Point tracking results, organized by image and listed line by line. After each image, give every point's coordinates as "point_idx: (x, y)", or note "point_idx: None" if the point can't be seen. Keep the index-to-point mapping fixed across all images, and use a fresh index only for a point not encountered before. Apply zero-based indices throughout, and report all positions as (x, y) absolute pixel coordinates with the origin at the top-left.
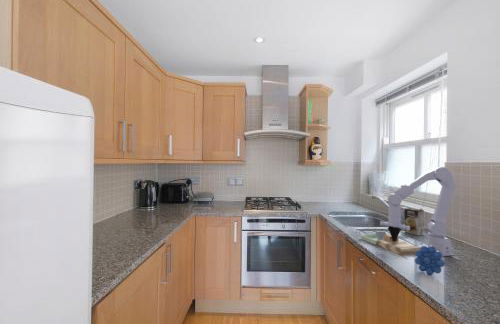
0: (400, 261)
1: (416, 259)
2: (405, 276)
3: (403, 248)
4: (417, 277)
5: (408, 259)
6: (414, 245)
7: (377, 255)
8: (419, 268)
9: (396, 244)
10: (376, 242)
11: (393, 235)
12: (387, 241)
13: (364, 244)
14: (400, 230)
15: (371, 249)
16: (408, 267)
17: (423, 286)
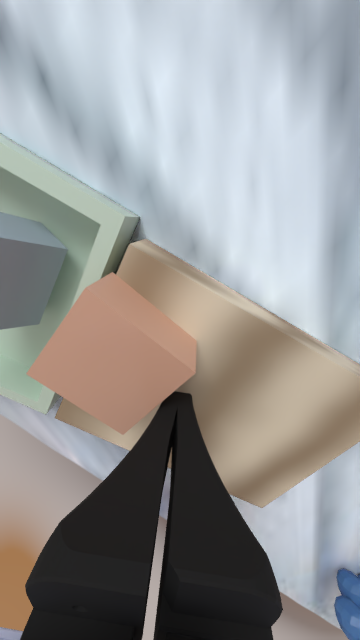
0: (260, 526)
1: (348, 638)
2: (290, 596)
3: (271, 493)
4: (323, 592)
5: (290, 496)
6: (356, 382)
7: (161, 513)
8: (339, 589)
9: (209, 442)
10: (57, 397)
11: (164, 479)
12: None
13: (19, 412)
14: (253, 545)
15: (100, 464)
16: (295, 555)
17: (335, 615)
